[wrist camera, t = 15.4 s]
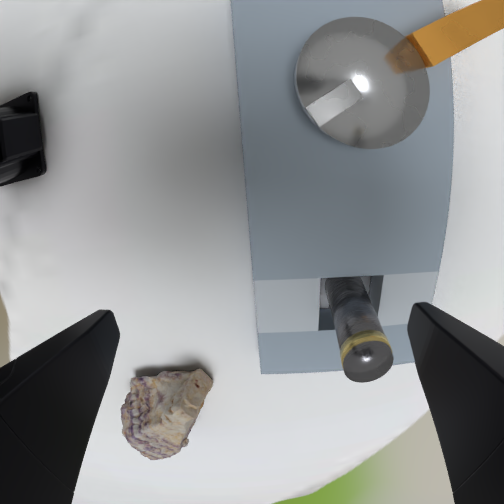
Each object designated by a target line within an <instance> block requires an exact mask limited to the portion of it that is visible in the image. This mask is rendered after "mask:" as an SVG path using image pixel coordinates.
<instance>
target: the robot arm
mask: <svg viewBox="0 0 504 504" xmlns="http://www.w3.org/2000/svg"><path fill="white" fill-rule="evenodd" d="M30 97H32V98H31V100H30ZM39 167H40V169H41V171H40V170H39ZM45 172H46V165H45V159H44V153H43V146H42V139H41V131H40V122H39V113H38V101H37V94H36V93H35V92H28V93H26V94H24V95H22V96H20V97H17V98H15V99H13V100H11V101H9V102H7V103H5V104H3V105H1V106H0V186H4V185H7V184H11V183H14V182H18V181H22V180H26V179H30V178H33V177H37V176H41V175H43V174H44V173H45ZM407 332H408V336H409V340H410V344H411V348H412V352H413V356H414V360H415V364H416V368H417V372H418V375H419V379H420V381H421V384H422V387H423V390H424V393H425V396H426V399H427V402H428V405H429V408H430V411H431V414H432V418H433V421H434V424H435V427H436V431H437V434H438V438H439V441H440V444H441V448H442V452H443V455H444V459H445V463H446V467H447V471H448V475H449V479H450V483H451V488H452V492H453V497H454V502H455V504H504V346H502V345H501V344H499V343H497V342H496V341H494V340H492V339H491V338H489V337H487V336H486V335H484V334H482V333H480V332H479V331H477V330H475V329H474V328H472V327H470V326H468V325H467V324H465V323H463V322H461V321H460V320H458V319H456V318H454V317H453V316H451V315H449V314H447V313H446V312H444V311H442V310H440V309H438V308H437V307H435V306H433V305H431V304H430V303H428V302H417V303H414V304H413V306H412V309H411V313H410V317H409V321H408V325H407ZM119 339H120V332H119V328H118V326H117V323H116V320H115V317H114V314H113V312H112V311H111V310H98V311H96V312H94V313H92V314H91V315H89V316H87V317H86V318H84V319H82V320H80V321H79V322H77V323H75V324H73V325H72V326H70V327H68V328H67V329H65V330H63V331H61V332H60V333H58V334H56V335H55V336H53V337H51V338H50V339H48V340H46V341H44V342H43V343H41V344H39V345H38V346H36V347H34V348H33V349H31V350H29V351H28V352H26V353H24V354H23V355H21V356H19V357H18V358H17V359H14V360H13V361H11V362H9V363H8V364H6V365H4V366H3V367H1V368H0V504H71V503H72V499H73V495H74V491H75V487H76V483H77V479H78V476H79V472H80V468H81V465H82V461H83V458H84V454H85V451H86V448H87V444H88V441H89V438H90V435H91V432H92V428H93V425H94V422H95V419H96V416H97V413H98V410H99V407H100V404H101V401H102V398H103V396H104V393H105V390H106V387H107V384H108V381H109V378H110V374H111V371H112V366H113V362H114V358H115V354H116V351H117V347H118V343H119Z"/></svg>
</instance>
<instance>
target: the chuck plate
mask: <svg viewBox="0 0 504 504" xmlns="http://www.w3.org/2000/svg"><path fill="white" fill-rule="evenodd" d="M231 8H232V21H233V34H234V46H235V59H236V71H237V84H238V96H239V109H240V121H241V134H242V146H243V159H244V171H245V184H246V196H247V208H248V221H249V233H250V245H251V258H252V270H253V282H254V295H255V307H256V319H257V332H258V344H259V356H260V368H261V374H287V373H311V372H328V371H341V370H343V367H342V363H341V358H340V349H339V345H338V340H337V336H336V331H335V327H334V323H333V318H332V314H331V310H330V309H319V305H320V279H321V278H334V277H354V276H371V284H370V292H369V298H370V300H371V303H372V305H373V307H374V310H375V312H376V314H377V317H378V319H379V322H380V324H381V326H382V329H383V331H384V334H385V335H386V337H387V339H388V341H389V344H390V346H391V349H392V354H393V357H394V360H393V364H392V365H398V364H405V363H412V362H415V360H414V356H413V352H412V348H411V344H410V340H409V336H408V332H407V325H408V321H409V317H410V313H411V309H412V306H413V304H414V303H417V302H428V303H430V304H431V305H432V301H433V296H434V292H435V288H436V283H437V278H438V273H439V268H440V263H441V258H442V252H443V246H444V240H445V233H446V227H447V219H448V211H449V202H450V192H451V181H452V166H453V143H454V104H453V82H452V68H451V57H449V58H447V59H446V60H444V61H442V62H440V63H439V64H437V65H435V66H433V67H428V68H426V70H427V74H428V78H429V84H430V96H429V103H428V108H427V111H426V113H425V116H424V118H423V120H422V122H421V123H420V125H419V126H418V127H417V129H416V130H415V131H414V132H413V133H412V134H411V135H410V136H408V137H407V138H406V139H405V140H403V141H401V142H399V143H397V144H395V145H392V146H390V147H385V148H380V149H363V148H357V147H353V146H350V145H347V144H345V143H342V142H340V141H338V140H335V139H333V138H331V137H329V136H328V135H326V134H324V133H323V132H322V131H320V130H319V129H318V128H317V127H315V126H314V125H313V124H312V123H311V122H310V120H309V119H308V118H307V117H306V115H305V114H304V112H303V111H302V109H301V107H300V105H299V103H298V100H297V97H296V93H295V88H294V70H295V66H296V62H297V59H298V57H299V55H300V52H301V50H302V48H303V46H304V44H305V43H306V41H307V40H308V39H309V37H310V36H311V35H312V34H313V33H314V32H315V31H316V30H317V29H319V28H320V27H322V26H323V25H325V24H327V23H329V22H331V21H333V20H337V19H340V18H346V17H365V18H370V19H374V20H377V21H380V22H383V23H385V24H387V25H389V26H391V27H393V28H394V29H396V30H397V31H399V32H400V33H401V34H402V35H404V36H407V35H408V34H410V33H412V32H414V31H416V30H418V29H420V28H422V27H424V26H426V25H428V24H430V23H432V22H434V21H436V20H438V19H440V18H442V17H444V16H445V13H444V7H443V2H442V0H231Z"/></svg>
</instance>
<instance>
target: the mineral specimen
mask: <svg viewBox="0 0 504 504" xmlns="http://www.w3.org/2000/svg"><path fill="white" fill-rule="evenodd" d="M130 385H131V392H129V393H128V394H127V396H126V399H125V404H123V405H122V407H121V420H122V424H123V429H122V434H123V436H124V437H126V439H127V441H128V443H129V444H130V445H131V446H132V447H133V448H135V449H137V450H138V451H140V453H141V454H142V455H143V456H144V457H148V458H149V459H150V460H158V459H164V458H167V457H171V456H172V455H175V454H176V453H178V452H180V450H181V448H182V447H185V446H187V444H188V442H189V440H188V439H187V437H188V435H189V433H190V431H191V428H192V426H193V425H194V423H195V420H196V418H197V416H198V414H199V412H200V409H201V408H202V407H203V404H204V399H205V397H206V395H207V394H208V392H209V391H210V390H211V388H212V385H213V381H212V379H211V378H210V377H209V376H208V375H207V374H206V373H205V372H204V371H203V370H202V369H197V370H195V371H190V372H189V371H174V372H170V371H163V372H161V373H159V374H158V375H157V376H152V377H148V376H142V377H140V378H138V377H134V378H131V383H130Z"/></svg>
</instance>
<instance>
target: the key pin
mask: <svg viewBox="0 0 504 504" xmlns="http://www.w3.org/2000/svg"><path fill="white" fill-rule="evenodd" d="M325 289H326V293H327V298H328V302H329V306H330V310H331V314H332V318H333V323H334V327H335V331H336V336H337V340H338V345H339V349H340V358H341V363H342V367H343V370H344V372H345V375H346V376H347V378H349V379H350V380H352V381H355V382H370V381H373V380H376V379H378V378H380V377H381V376H383V375H384V374H386V373H387V372H388V371H389V369H390V368H391V366H392V364H393V360H394V357H393V354H392V349H391V346H390V344H389V341H388V339H387V337H386V335H385V334H384V331H383V329H382V326H381V324H380V322H379V319H378V317H377V314H376V312H375V310H374V307H373V305H372V303H371V300H370V298H369V296H368V294H367V291H366V289H365V287H364V285H363V282H362V280H361V278H360V276H354V277H334V278H327V280H326V283H325Z"/></svg>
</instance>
